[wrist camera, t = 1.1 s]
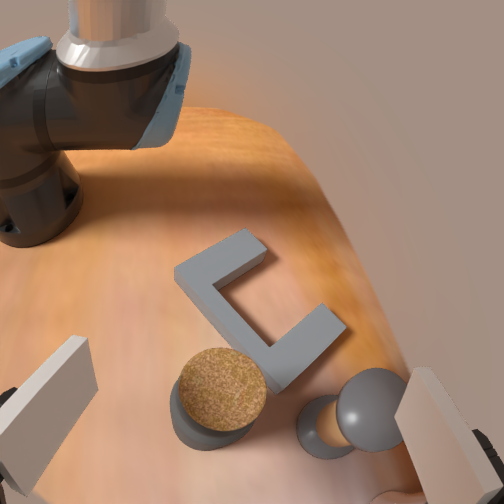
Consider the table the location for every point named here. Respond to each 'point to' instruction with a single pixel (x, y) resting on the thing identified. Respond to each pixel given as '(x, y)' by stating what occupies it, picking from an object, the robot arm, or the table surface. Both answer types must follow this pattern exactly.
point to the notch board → (232, 324)
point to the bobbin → (354, 416)
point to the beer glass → (400, 498)
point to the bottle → (217, 398)
